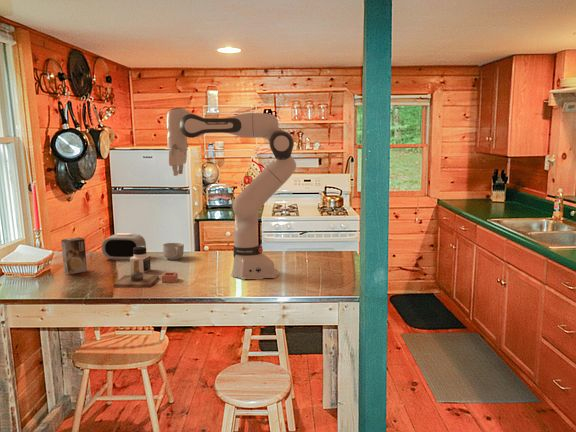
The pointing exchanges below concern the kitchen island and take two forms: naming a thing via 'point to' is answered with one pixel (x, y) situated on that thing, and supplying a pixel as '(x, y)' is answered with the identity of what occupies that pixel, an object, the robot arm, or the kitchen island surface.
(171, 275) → the ring
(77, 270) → the coffee box
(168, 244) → the teacup
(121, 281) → the toggle switch plate
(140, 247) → the medicine bottle
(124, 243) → the alarm clock
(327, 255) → the kitchen island surface
